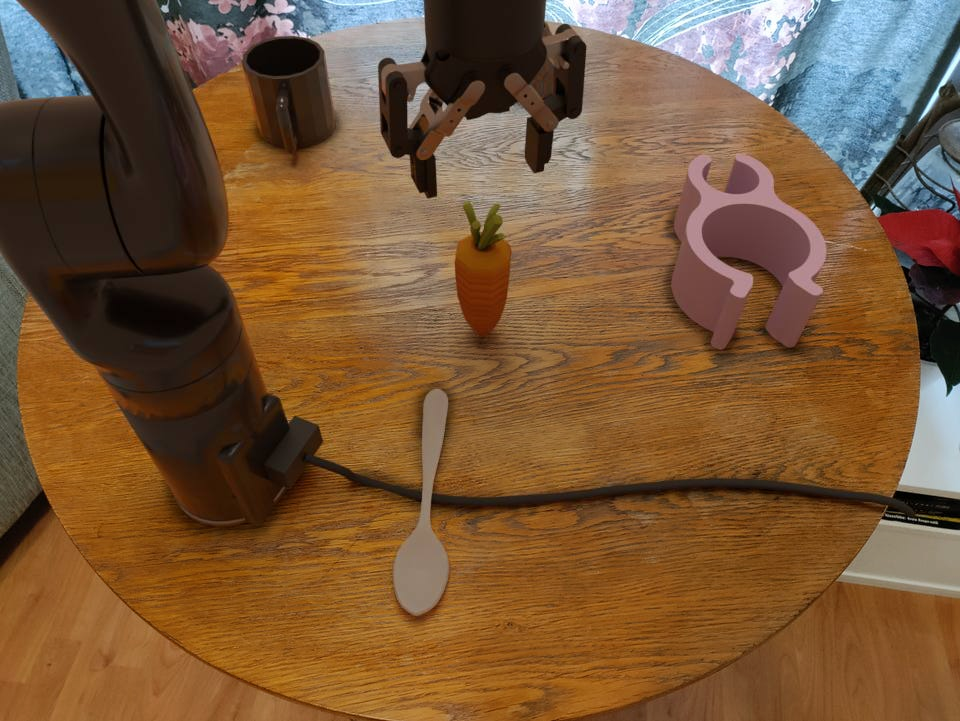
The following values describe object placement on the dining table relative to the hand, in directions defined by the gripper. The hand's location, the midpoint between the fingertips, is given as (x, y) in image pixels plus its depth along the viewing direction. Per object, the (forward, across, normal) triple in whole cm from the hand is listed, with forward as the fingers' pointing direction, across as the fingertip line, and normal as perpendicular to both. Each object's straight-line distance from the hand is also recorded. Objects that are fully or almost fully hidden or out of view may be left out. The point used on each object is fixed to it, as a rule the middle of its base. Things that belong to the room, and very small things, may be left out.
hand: (482, 178), depth 58 cm
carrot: (+18, 0, -1) cm, 18 cm away
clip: (+18, +26, -2) cm, 32 cm away
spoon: (+18, -10, -15) cm, 25 cm away
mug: (+18, -9, +37) cm, 42 cm away
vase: (+19, +21, +35) cm, 45 cm away
